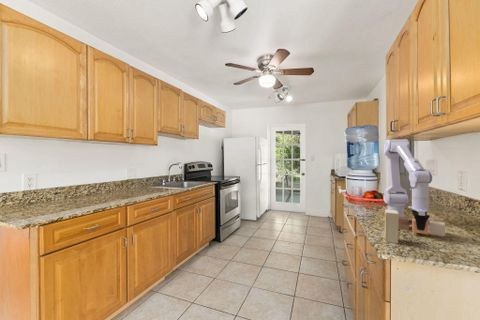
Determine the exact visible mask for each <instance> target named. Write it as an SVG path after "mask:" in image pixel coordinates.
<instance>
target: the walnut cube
mask: <svg viewBox="0 0 480 320" xmlns="http://www.w3.org/2000/svg"><path fill="white" fill-rule="evenodd" d="M409 224H410V220H409V218H408V217H406V216H404V217H401V216H399V221H398V230H407V231H408V230H410V227H409V226H410V225H409Z"/></svg>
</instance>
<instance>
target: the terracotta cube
mask: <svg viewBox="0 0 480 320" xmlns="http://www.w3.org/2000/svg"><path fill="white" fill-rule="evenodd" d="M411 220H412V222H411V225H412V226H411V227H412V228H411V230H412V232H413V233H416V234H423V235H429V222H428V220H427V222H426V225H425V229H424V231H422V230H418V229H417V225H416V220H415V218H413V217H412V219H411Z"/></svg>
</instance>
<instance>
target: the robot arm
mask: <svg viewBox="0 0 480 320" xmlns="http://www.w3.org/2000/svg"><path fill="white" fill-rule="evenodd" d="M383 153H384V156H386V159H387V171H388V187H385V189H384V190H383V196H382V197H383V202H384V203H385V204H386V205H387V206H386V207H387V210H397V212H398V213H399V216H401V217H405V207H406V205H407V204H408V202H409V196H408V193H407V190H406V189H405V188H404V187H402V185H401V173H400V172H401V171H400V163H399V157H401V158H402V159H403V161H404V162H403V166H404V168H405V169H406V171H407V173H408V174H409V175H408V180H409V182H410V183H409V184H410V187H411V206H410V205H408V209H410V211H411V213H412V216H413V217H414V218H415V220H416V225H417V229H418V230H422V231H424V229H425V225H426V222H427V221H428V220H429V218H430V217H431V216H430V215H429V214H428V212H429V211H430V208H429V207H430V206H429V205H430V201H429V199H430V198H429V197H430V195H429V190H430V189H429V187H430V186H429V185H430V184H431V182H432V181H433V174H432V172H431V171H430V170H427V168H426V169H425V168H424V167H423V166H422V164H421V162H420V161H419V160H418V159H417V158H414V156H413V155H412V152H411V151H410V142H409V140H408V139H407V138H404V139H386V140H385V141H384V142H383Z"/></svg>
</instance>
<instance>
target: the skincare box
mask: <svg viewBox="0 0 480 320" xmlns="http://www.w3.org/2000/svg"><path fill="white" fill-rule="evenodd" d="M398 221H399V213H398V212H397V210H387V209H384V241H385V242H386V243H393V244H397V245H398V244H399V229H398Z"/></svg>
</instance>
